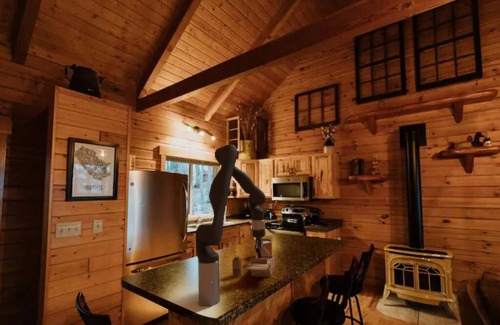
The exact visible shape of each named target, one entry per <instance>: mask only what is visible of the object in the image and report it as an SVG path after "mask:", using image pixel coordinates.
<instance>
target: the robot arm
mask: <svg viewBox="0 0 500 325" xmlns="http://www.w3.org/2000/svg"><path fill="white" fill-rule="evenodd" d="M214 159H215V160H216V161H217V163H218V164H219V165H220V166H221V167H220V168H219V170H218V172H217V173H216V175H215V176H214V178H213V180H212V182H211V184H210V187H209V191H208V192H209V193H208V198H209V199H208V200H209V202H210V205H211V209H212V211H213V218H212V224H211V223H201V224H199V225H198V226H197V228H196V231H195V251H196V257H197V267H198V268H197V271H198V272H197V274H198V277H197V278H198V282H197V283H198V286H197V287H198V305H199V306H205V307H206V306H207V307H208V306H209V307H213V306H214V305H217V304H219V302H220V301H221V292H220V291H221V290H220V289H221V288H220V284H221V283H220V254H219V253H218V252H217V251H215V250H214V249H213V248H212V247H216V246H218V245H220V244H221V241H222V238H223V233H224V232H223V231H224V223H225V222H224V221H225V215H226V214H225V213H226V207H227V203H228V198H229V193H230V186H231V182H232V178H233V179H234V180H235V181H236V182H237V184H238V185H239V186H240V188H241V189H242V190H243V192H244V193H245V194H247V195H248V206H249V210H250V212H251V237H253V238H255V240H254V249H255V253H256V256H257V257H258V258H262V253H261V252H262V250H263V240H262V239H263V238H265V237H266V223H265V222H266V221H265V211H264V209H263V208H261V207H260V206H261V205H264V204H265V203H266V200H267V197H266V194H265V193H264V191H263V190H261V188H259V187H258V186H257V185H256V184H255V183H254V181H253V180H252V178H251V177H250V176H249V175H248V174H247V173H246V172H245V171H243V170H241V169H240V168H238V167H237V166H236V163H237V160H238V149H237V147H236V146H235V145H234V144H231V143H230V144H226V145H222V146H221V147H218V148H217V149H215V152H214ZM211 246H212V247H211Z"/></svg>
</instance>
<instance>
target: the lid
mask: <svg viewBox="0 0 500 325" xmlns="http://www.w3.org/2000/svg"><path fill="white" fill-rule="evenodd" d="M271 261H272V259H267V258H255V257H250V261H249V262H248V264H247V265H246V266H245V271H251V270H267V268H268V267H269V265H270V263H271Z"/></svg>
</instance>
